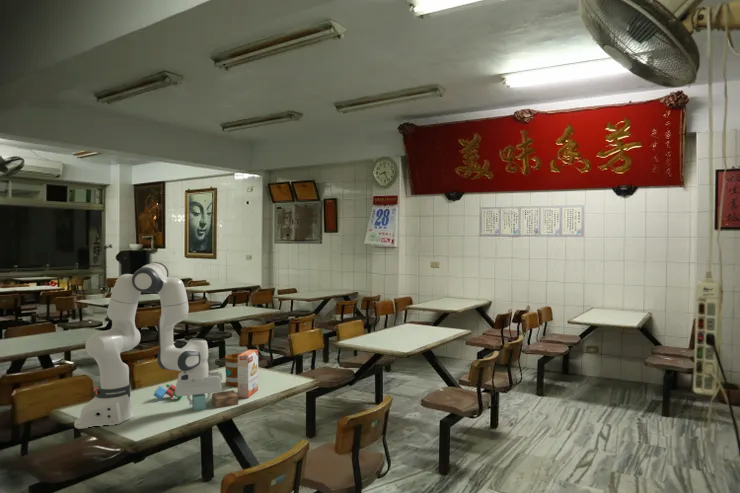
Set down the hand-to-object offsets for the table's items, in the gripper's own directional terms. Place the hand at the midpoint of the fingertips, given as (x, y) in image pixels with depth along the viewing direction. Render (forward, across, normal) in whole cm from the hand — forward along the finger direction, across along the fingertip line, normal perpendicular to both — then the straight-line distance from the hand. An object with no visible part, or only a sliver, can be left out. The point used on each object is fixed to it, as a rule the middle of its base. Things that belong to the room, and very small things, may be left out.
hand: (198, 403), depth 225 cm
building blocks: (+2, +13, -19) cm, 23 cm away
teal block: (+2, 0, 0) cm, 2 cm away
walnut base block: (+2, -12, -3) cm, 12 cm away
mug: (+2, -21, -32) cm, 38 cm away
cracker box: (+2, -24, -13) cm, 27 cm away
